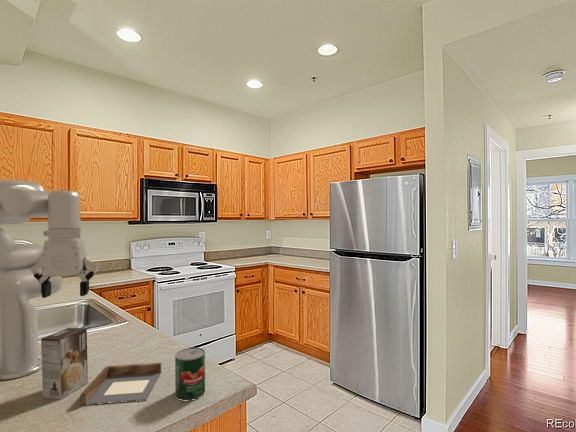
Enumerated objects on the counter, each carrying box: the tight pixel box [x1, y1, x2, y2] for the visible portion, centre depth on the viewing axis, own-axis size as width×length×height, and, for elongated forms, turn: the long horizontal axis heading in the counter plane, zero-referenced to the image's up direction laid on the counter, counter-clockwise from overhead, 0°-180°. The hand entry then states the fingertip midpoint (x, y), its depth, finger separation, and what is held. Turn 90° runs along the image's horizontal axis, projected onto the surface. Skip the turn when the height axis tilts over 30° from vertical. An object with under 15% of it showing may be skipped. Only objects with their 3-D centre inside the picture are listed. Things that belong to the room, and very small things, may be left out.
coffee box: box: [40, 327, 89, 400], centre depth 93 cm, size 9×6×16 cm
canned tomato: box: [174, 347, 206, 400], centre depth 91 cm, size 8×8×11 cm
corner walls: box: [80, 362, 162, 406], centre depth 94 cm, size 16×16×3 cm
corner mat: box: [85, 373, 161, 406], centre depth 94 cm, size 16×16×1 cm
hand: (65, 295), depth 93 cm, fingers open, 9 cm apart
